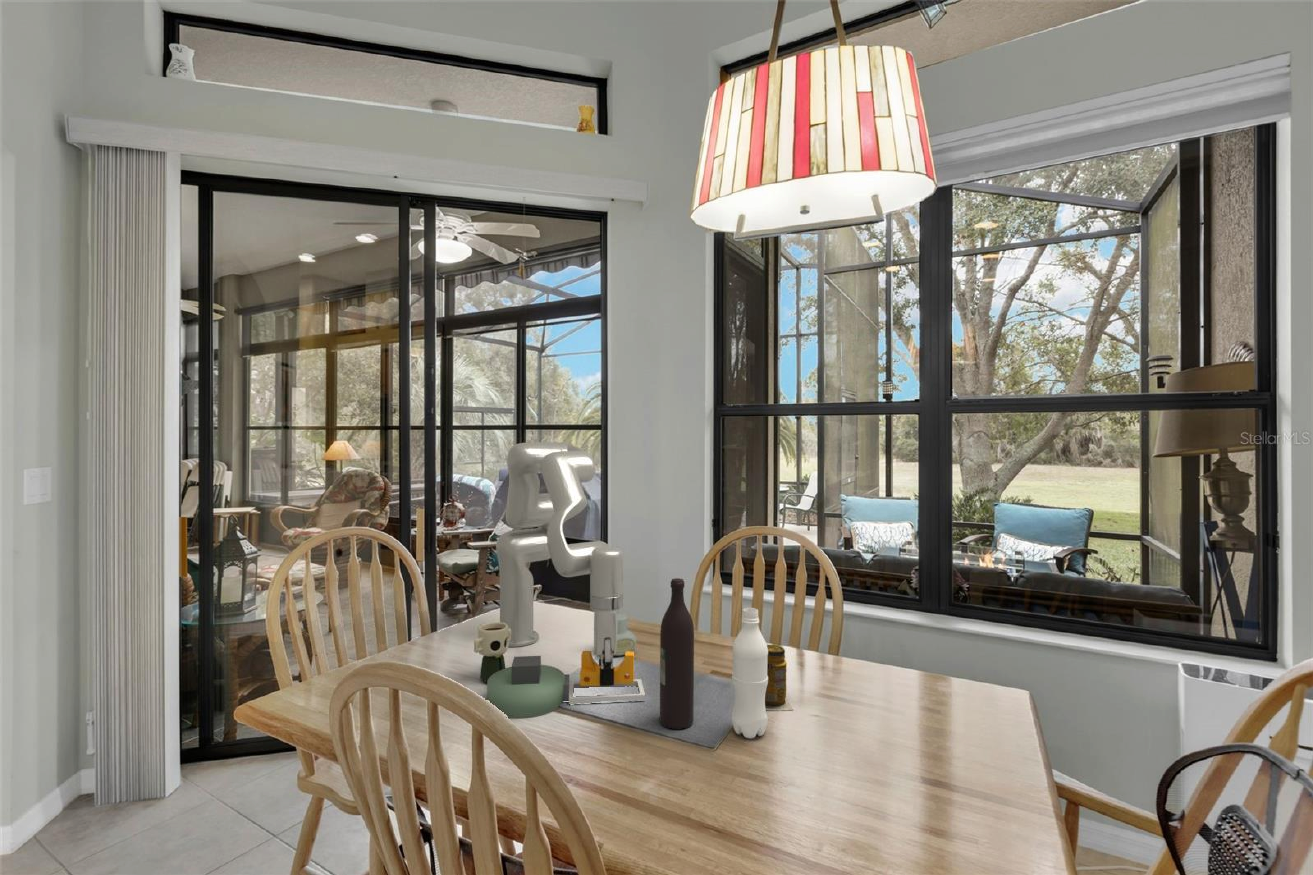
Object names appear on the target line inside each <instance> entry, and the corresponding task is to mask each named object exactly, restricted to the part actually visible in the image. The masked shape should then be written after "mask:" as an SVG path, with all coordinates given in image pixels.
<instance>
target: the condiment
mask: <svg viewBox="0 0 1313 875" xmlns="http://www.w3.org/2000/svg"><path fill="white" fill-rule="evenodd" d="M767 648H768V657H767V676H768V684H767V688H766V693H765V710H766V711H778V712H782V711H793V710H794V709H793V707H792V705H791V703H790V701H789V700H788V698H787V661H786V656H785V654H786V652H785V649H784V648H783V647H782V646H780V645H776V644H767Z"/></svg>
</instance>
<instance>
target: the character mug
mask: <svg viewBox="0 0 1313 875" xmlns="http://www.w3.org/2000/svg"><path fill="white" fill-rule="evenodd" d="M509 641H511V629H508V625H507V624H505V623H501V622H500V621H499V622H496V621H493V622H486V623H482V624H480V625H479V626H478V627H477V638H475V639H474V640H473V649H474V650H473V651H474V653H475V654H478V653H479V655H481V656H482V659H481V665H480V671H479V672H480V673H479V679H481V680H482V681H484V682H486V683H487V682H488V679H489V678H490V676H492V675H493V674H494V673H496V672H498V671H500V670H502V669H505V668H506V662H505V656H504V655H505V654H506V653H507V651H508V649H509V647H508V645H509V644H508V642H509Z"/></svg>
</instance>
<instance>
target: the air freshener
mask: <svg viewBox="0 0 1313 875" xmlns="http://www.w3.org/2000/svg"><path fill="white" fill-rule="evenodd" d="M636 645H637V638H636V636H635V634H634V633H633V632H632V631H630V630H628V616H627V615H626V614H624V613H619V612H618V631H617V649H616V654H615V655H613V657H623V656H625V653H626V651H633V650H634V649H635V647H636Z"/></svg>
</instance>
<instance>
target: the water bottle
mask: <svg viewBox="0 0 1313 875" xmlns="http://www.w3.org/2000/svg"><path fill="white" fill-rule="evenodd" d="M741 622H742V626H741V629H740V631H739V632H738V634H737V636H736V638H735V640H734V642H733V646H732V674H731V681H732V684H733V689H734V702H733V708H732V711H731V712H732V713H731V723H732V726H733V727H732V728H733V729H734V732H735V733H736V734H737V735H741V734H742V735H743V737H744V738H746V739H755V737H756V736H759V737H761V736H763V735H764V733H765V731H766V729H767V728H768V726H767V725H768V721H769V720H768V714H767V710H765V693H766V688H767V684H768V676H767V657H768V648H767V645H768V644H767V642H766V640H765V638H764V636H763V634H762V633H761V630H760V627H759V623H760V618H759V610H758V609H757V608H755V607H744V608H743V610H742V619H741Z"/></svg>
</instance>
